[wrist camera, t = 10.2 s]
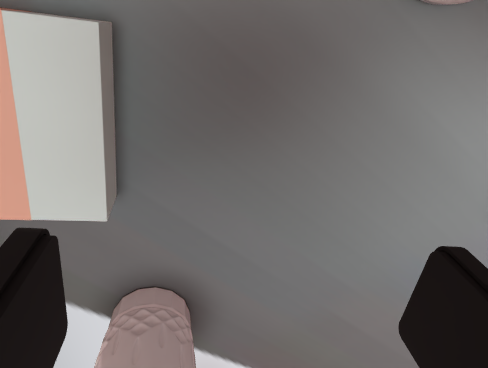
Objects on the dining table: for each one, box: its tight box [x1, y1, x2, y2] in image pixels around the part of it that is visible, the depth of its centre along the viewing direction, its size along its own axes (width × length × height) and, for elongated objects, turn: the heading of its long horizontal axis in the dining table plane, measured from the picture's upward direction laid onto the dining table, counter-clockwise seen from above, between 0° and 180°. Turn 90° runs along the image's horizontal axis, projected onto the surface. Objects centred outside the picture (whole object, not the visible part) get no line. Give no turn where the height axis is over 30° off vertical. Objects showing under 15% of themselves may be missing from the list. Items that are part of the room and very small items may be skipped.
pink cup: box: [94, 287, 196, 368], centre depth 27 cm, size 8×8×10 cm
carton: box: [0, 8, 117, 221], centre depth 22 cm, size 8×12×4 cm
